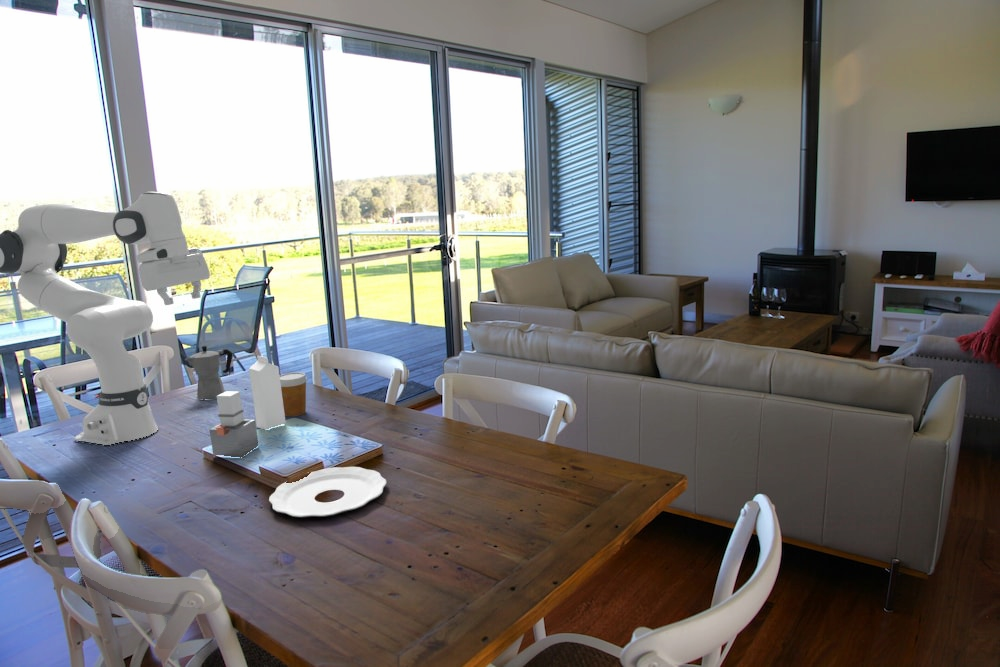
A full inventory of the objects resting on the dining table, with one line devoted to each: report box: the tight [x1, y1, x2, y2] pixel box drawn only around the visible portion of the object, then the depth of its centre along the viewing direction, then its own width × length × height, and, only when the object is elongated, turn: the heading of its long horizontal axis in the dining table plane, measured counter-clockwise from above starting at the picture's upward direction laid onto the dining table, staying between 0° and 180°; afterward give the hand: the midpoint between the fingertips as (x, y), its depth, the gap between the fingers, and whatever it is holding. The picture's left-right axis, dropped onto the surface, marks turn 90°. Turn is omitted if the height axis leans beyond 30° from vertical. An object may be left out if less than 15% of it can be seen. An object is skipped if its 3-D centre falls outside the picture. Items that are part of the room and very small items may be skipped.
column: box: [216, 390, 245, 429], centre depth 177 cm, size 4×4×16 cm
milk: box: [248, 355, 287, 430], centre depth 196 cm, size 6×6×22 cm
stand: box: [208, 418, 260, 459], centre depth 178 cm, size 14×14×10 cm
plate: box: [268, 466, 387, 519], centre depth 152 cm, size 25×25×2 cm
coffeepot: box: [184, 345, 234, 401], centre depth 235 cm, size 15×9×18 cm, turn 125°
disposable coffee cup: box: [279, 372, 308, 417], centre depth 211 cm, size 10×10×12 cm
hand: (183, 301), depth 187 cm, fingers open, 8 cm apart
